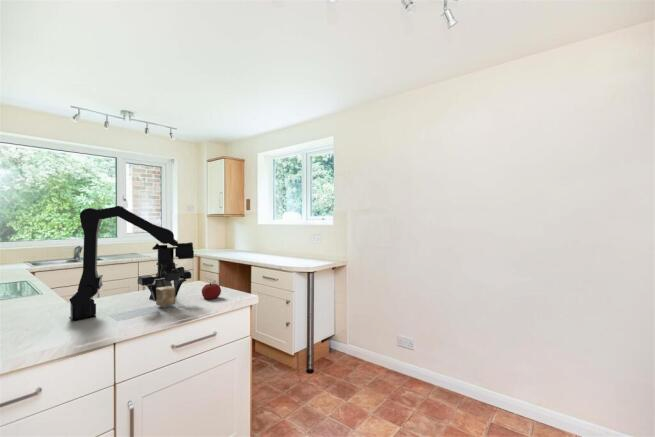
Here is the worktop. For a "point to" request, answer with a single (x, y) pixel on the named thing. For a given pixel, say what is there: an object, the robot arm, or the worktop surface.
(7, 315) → the worktop surface
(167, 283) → the phone stand
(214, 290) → the red apple
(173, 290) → the wooden block
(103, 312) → the worktop surface
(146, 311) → the board
